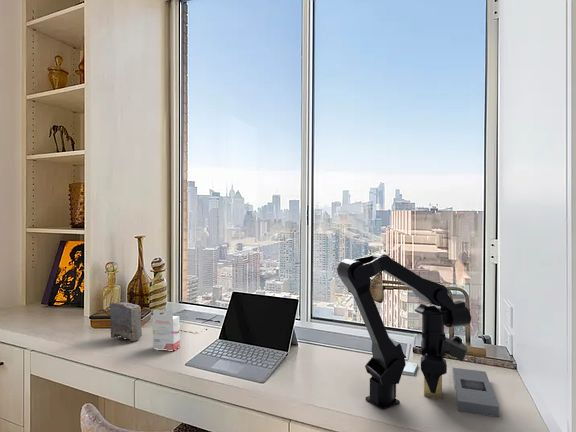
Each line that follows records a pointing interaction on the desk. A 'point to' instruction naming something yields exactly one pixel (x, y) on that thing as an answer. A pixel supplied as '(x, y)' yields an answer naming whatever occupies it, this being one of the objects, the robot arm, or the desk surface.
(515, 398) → the desk surface
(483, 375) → the grey flat rectangular block
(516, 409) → the desk surface
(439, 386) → the brass block
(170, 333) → the ink cartridge box
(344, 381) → the desk surface
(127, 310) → the geological specimen
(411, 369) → the hard drive
